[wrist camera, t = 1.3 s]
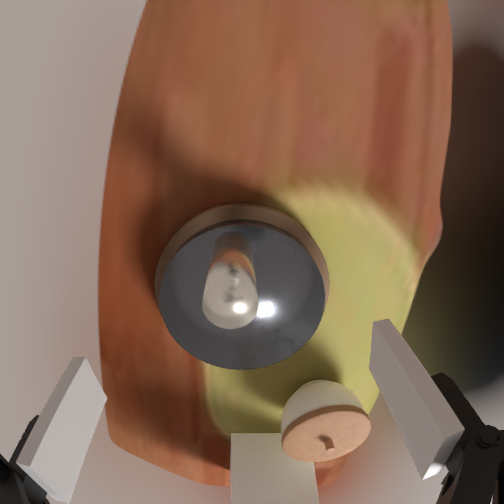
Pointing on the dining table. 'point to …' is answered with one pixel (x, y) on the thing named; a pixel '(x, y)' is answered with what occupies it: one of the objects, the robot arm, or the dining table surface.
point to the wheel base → (233, 213)
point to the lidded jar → (323, 422)
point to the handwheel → (242, 295)
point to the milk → (268, 472)
